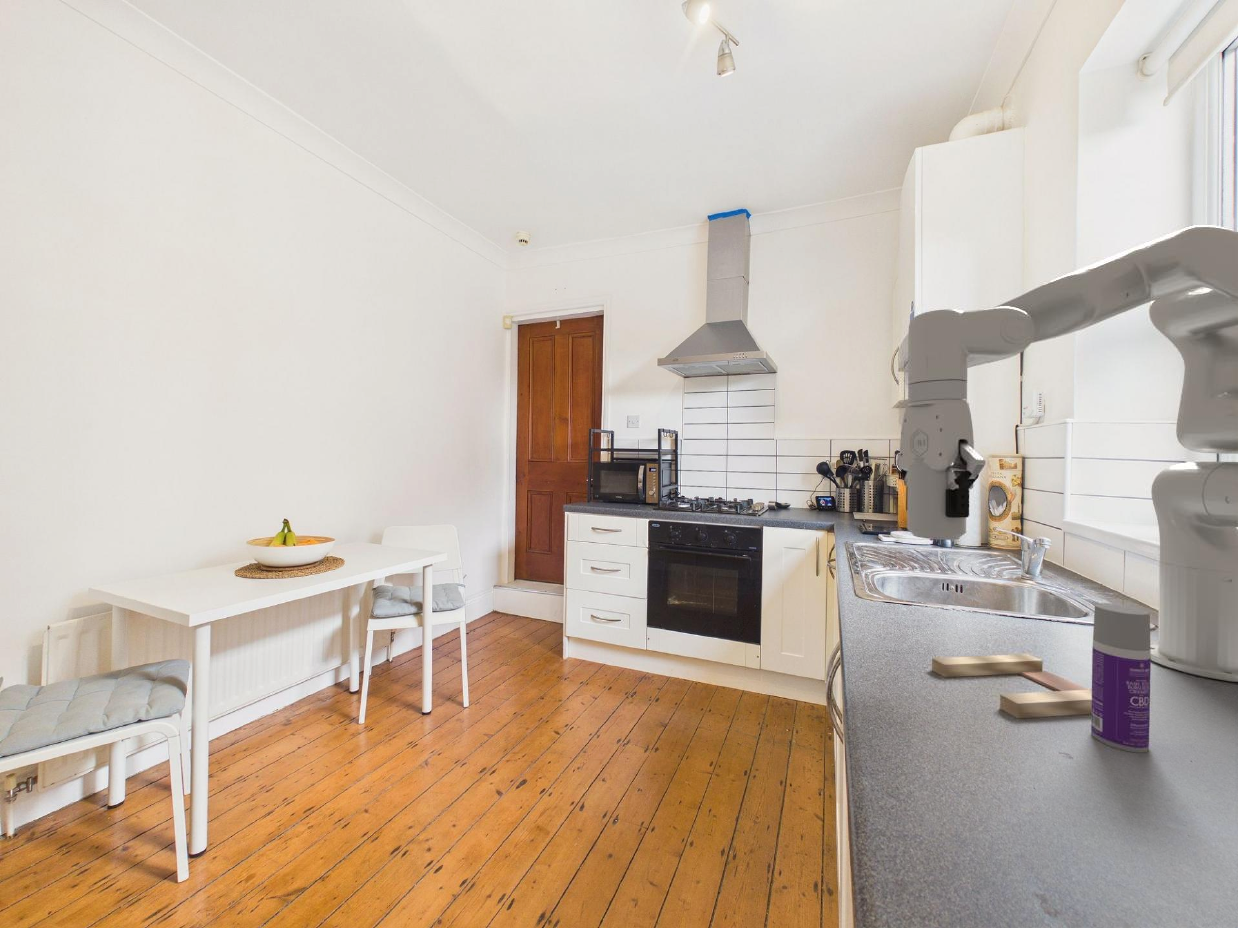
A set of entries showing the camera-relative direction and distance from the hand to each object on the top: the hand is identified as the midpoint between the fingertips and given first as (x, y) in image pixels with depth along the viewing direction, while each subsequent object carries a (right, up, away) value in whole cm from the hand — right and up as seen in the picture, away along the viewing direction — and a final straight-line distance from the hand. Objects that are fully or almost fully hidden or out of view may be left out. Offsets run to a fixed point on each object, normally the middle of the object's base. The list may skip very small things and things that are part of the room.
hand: (935, 513), depth 77 cm
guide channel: (+9, -24, -6) cm, 26 cm away
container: (+9, -24, -19) cm, 32 cm away
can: (0, -4, 0) cm, 4 cm away
